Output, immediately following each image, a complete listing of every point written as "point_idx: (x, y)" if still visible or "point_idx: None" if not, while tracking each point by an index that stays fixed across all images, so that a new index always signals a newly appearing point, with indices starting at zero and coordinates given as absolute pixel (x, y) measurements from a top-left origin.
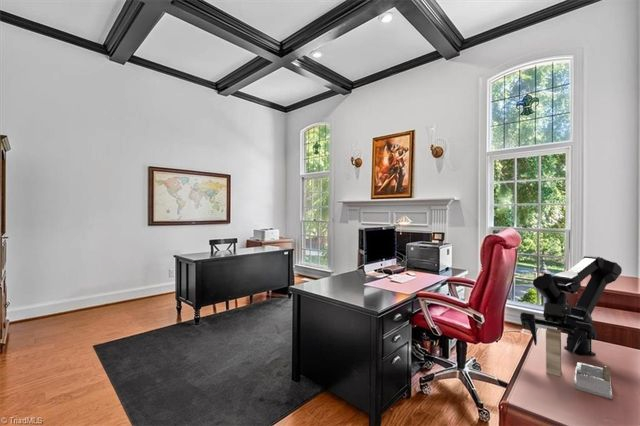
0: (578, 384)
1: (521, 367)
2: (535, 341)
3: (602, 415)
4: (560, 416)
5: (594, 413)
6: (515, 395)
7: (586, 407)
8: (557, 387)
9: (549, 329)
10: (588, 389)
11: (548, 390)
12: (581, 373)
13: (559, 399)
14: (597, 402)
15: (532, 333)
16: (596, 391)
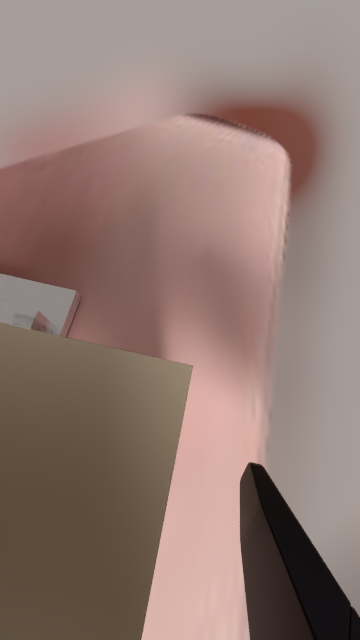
0: (55, 301)
1: (269, 412)
2: (261, 482)
3: (51, 170)
4: (166, 131)
5: (70, 172)
6: (272, 180)
7: (82, 193)
8: (141, 283)
9: (75, 629)
10: (28, 280)
11: (177, 247)
12: (8, 319)
13: (152, 206)
14: (31, 235)
15: (341, 599)
16: (1, 274)
